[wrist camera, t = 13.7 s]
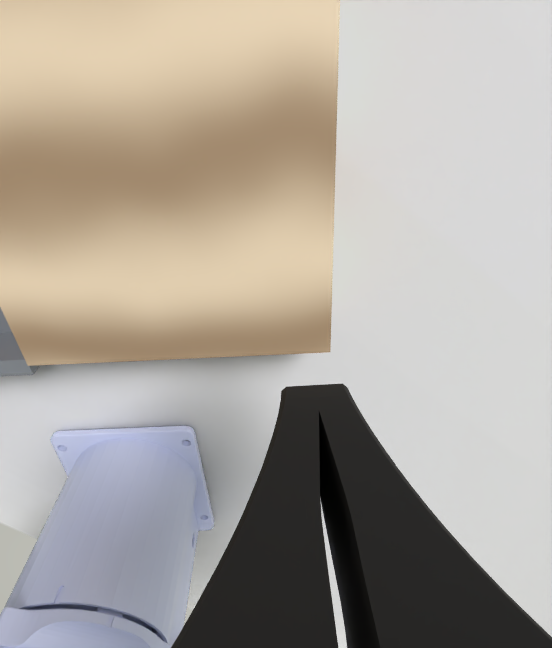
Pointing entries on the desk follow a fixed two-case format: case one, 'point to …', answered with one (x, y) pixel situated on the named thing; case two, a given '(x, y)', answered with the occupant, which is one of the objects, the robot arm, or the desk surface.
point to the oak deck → (167, 177)
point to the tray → (11, 353)
